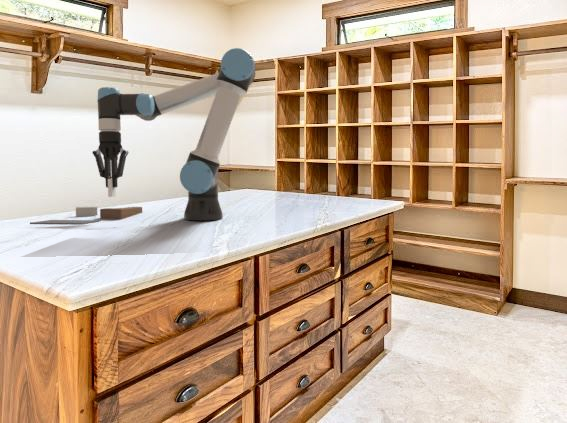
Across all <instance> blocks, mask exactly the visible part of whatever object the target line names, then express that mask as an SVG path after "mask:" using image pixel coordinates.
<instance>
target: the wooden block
mask: <svg viewBox="0 0 567 423" xmlns="http://www.w3.org/2000/svg"><path fill="white" fill-rule="evenodd" d="M142 213H143V207H142V206H128V207H118V208H117V207H116V208H108V207H107V208H105V207H104V208H100V209H99V215H100V216H99V218H100V220H123V219H127V218H130V217H133V216H137V215H140V214H142Z"/></svg>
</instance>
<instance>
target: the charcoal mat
mask: <svg viewBox="0 0 567 423" xmlns="http://www.w3.org/2000/svg"><path fill="white" fill-rule="evenodd" d="M101 220H102V219H100V220H99V219H97V220H96V219H95V220H94V219H93V220H92V219H88V220H87V219H48V220H41V221H33V222H29V224H30V225H47V224H48V225H86V224H94V223H99V221H100V222H101Z"/></svg>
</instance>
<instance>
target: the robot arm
mask: <svg viewBox="0 0 567 423" xmlns="http://www.w3.org/2000/svg"><path fill="white" fill-rule="evenodd" d="M255 68H256V62H255V60H254V57H253V56H252V54H251V53H250V52H249V51H248V50H246V49H243V48H239V47H235V48H230V49H229V50H227V51H226V52H225V53H224V54H223V56H222V57H221V60H220V69H217V70H216V71H215V73H214V74H210V75H208V76H206V77H204V78H200V79H198V80H194V81H192V82H190V83H186V84H184V85H181V86H178V87H175V88H172V89H170V90H167V91H165V92H162V93H159V94H158V93H157V94H156V95H154V96H153V95H152V94H150V93H120V90H119V89H118V88H117V87H109V86H104V87H100V88H98V90H97V101H96V102H97V112H98V113H97V116H98V117H97V118H98V131H99V132H98V142H99V145H98V148H97V149H96V150H93V151H92V155H93V157H94V158H95V161H96V162H95V163H96V165H97V170H98V172H99V176H100V177H101V178H104V179H105V188H107V194H108V195H107V197H108V198H111V197H112V198H114V197H115V198H116V197H117V196H116V188H118V179H119V178H122V177H123V176H124V174H123V173H124V170H125V164H126V160H127V157H128V154H129V150H125V149H124V148H123V146H122V134H121V132H120V131H121V116H136V117H138V118H140V119H141V120H143V121H146V122H149V121H150V122H151V121H154V120H155V119H156V118H157V117H160V116H162V115H164V114H168V113H171V112H173V111H176V110H178V109H181V108H184V107H187V106H190V105H192V104H195V103H197V102H201V101H205V100H206V99H209V98H212V97H214V98H213V102H212V104H211V107H210V108H209V109H210V110H209V112H208V115H207V117H206V120H205V122H204V123H205V124H204V125H203V128H202V132H201V133H200V136H199V139H198V142H197V144H196V147H195V149H194V150H192V151H190V152H189V154H188V156H187V159H186V162H185V164H184V165H183V166H182V167H181V169H180V171H179V172H180V173H179V181H180V183H181V186H182V187H183V188H184V190H186V191H188V193H187V194H188V195H187V196H188V198H187V199H188V200H187V204H186V207H185V209H184V212H183V219H184V220H187V221H213V220H214V221H215V220H216V221H218V220H223V218H224V217H223V216H224V215H223V210H222V208H221V205H220V202H219V173H218V172H219V168H220V166H221V162H220V159H219V156H220V154H221V150H222V148H223V145H224V143H225V141H226V140H225V139H226V137H227V135H228V131H229V129H230V127H231V124H232V121H233V118H234V115H235V112H236V110H237V107H238V105H239V102H240V100H241V97H242V96H244V95H247V92H248V90H249V88H250V85H252V84H253V82H254V81H255V79H256V78H255V77H256V69H255ZM119 154H120V155H119ZM102 156H103V157H102ZM103 160H104V161H103Z"/></svg>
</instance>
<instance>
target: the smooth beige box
mask: <svg viewBox="0 0 567 423" xmlns="http://www.w3.org/2000/svg"><path fill="white" fill-rule="evenodd" d="M92 215H97V216H98V206H97V205H96V206H95V205H94V206H76V207H75V217H76V218H77V217H78V216H80V217H93V216H92Z"/></svg>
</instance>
